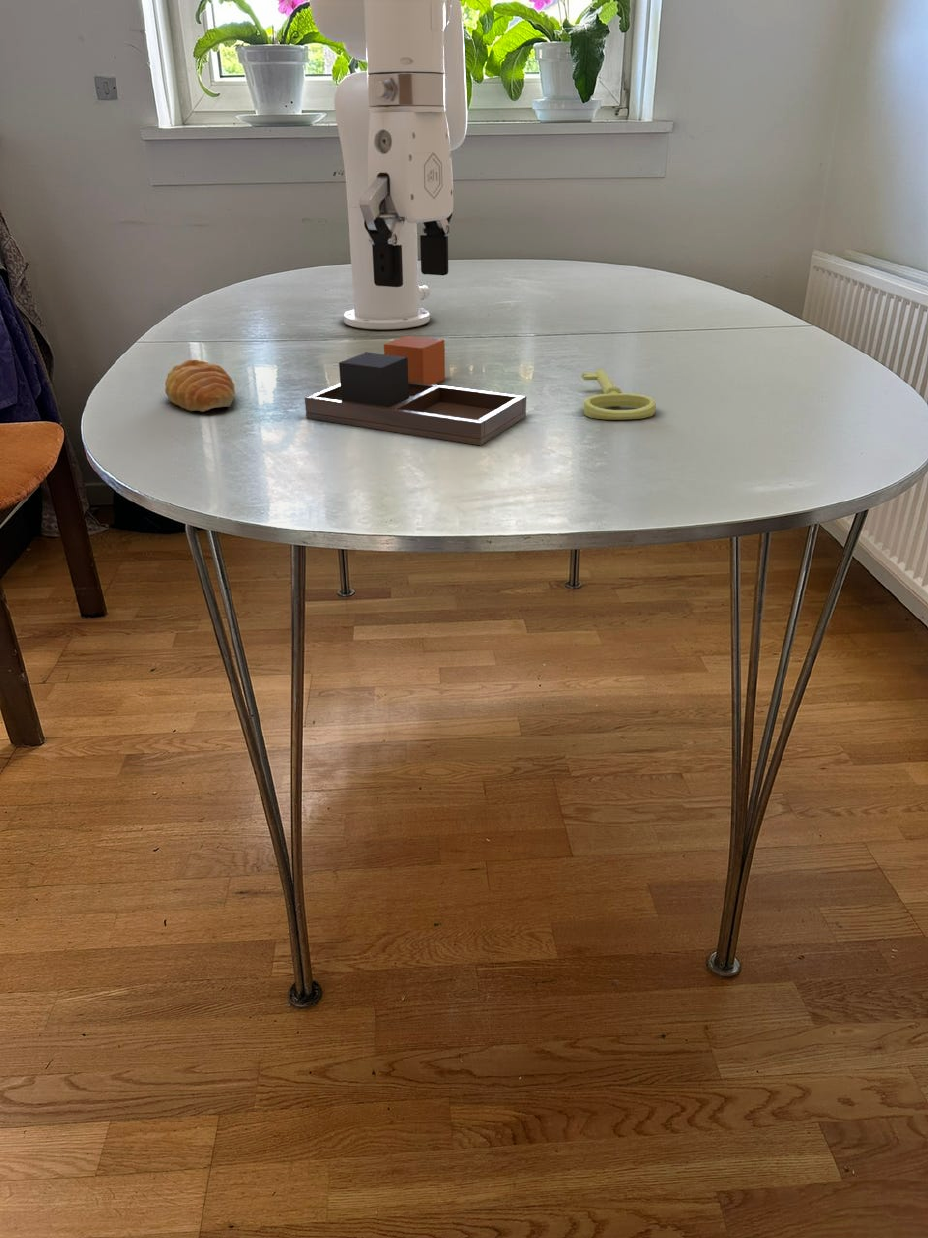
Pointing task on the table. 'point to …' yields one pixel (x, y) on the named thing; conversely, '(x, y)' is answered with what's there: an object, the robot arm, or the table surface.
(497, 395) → the brown divided tray
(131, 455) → the table surface
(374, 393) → the black block
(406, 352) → the orange block
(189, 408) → the pastry
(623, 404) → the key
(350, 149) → the robot arm
